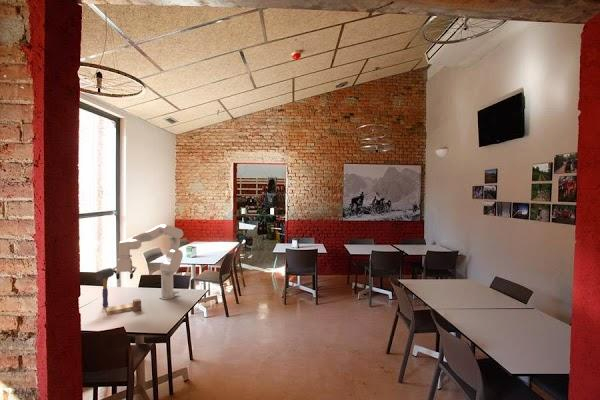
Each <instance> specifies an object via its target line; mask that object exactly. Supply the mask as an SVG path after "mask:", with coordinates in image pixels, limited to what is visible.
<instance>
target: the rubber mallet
mask: <svg viewBox="0 0 600 400" xmlns="http://www.w3.org/2000/svg"><path fill="white" fill-rule="evenodd" d="M112 269H113V268H111V267H109V268H104V269H100V270H99V271H96V272H95V276H94V277H95V279H96V280H98V281H101V280H102V282H103V283H102V288H103V289H102V293H101V294H102V306H103V308H107V307H109V306H108V305H109V301H108V297H109V290H108V281H107V279H109V278H111V277H113V276H114V275H115V273H114V271H113V270H112Z"/></svg>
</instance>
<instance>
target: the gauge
mask: <svg viewBox="0 0 600 400" xmlns="http://www.w3.org/2000/svg"><path fill="white" fill-rule="evenodd" d="M132 303H133V310H132V311H133V313H136V312H141V311H142V300H141V298H137V299H132Z"/></svg>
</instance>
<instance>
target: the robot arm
mask: <svg viewBox="0 0 600 400" xmlns="http://www.w3.org/2000/svg"><path fill="white" fill-rule="evenodd" d="M163 235H164V236H167V237H168V238H169V245H168V247H167V250H166V253H165V257H166V259H168V260H163V261H162V262H161V263H160V266H159V270H160V276H161V277H160V278H161V279H160V280H161V281H160V282H161V283H160V284H161V295H159V298H160V299H161V300H171V299H173V298H175V297H176V295H177V294H180V291H179V290H178V291H177V290H174V274H175V273H177V272H178V271H179V269H180V266H181V263H182V260H183V251H182V250H180V249H179V248H180V245H181V240H180V239H181V238H182V237H183V236H184V231H183V230H182V229H181V228H178V227H175V226H172V225H169V224H160V225H157V226H155V227H154V228H151V229H149V230H148V231H144V232H141V233H139V234H136V235H134V236H132V237H130V238H127V240H122V241H119V242H118V259H117V261H116V266H115V267H113V268H112V270H113V271H114V275H115V278H116V280H120V273H124V272H125V273H127V272H128V273H129V279H130V280H132V279H133V278H134V273H135V272H136V270H137V267H136V266H134V265H133V261H132V256H133V255H131V252H130V251H131V250H139V249H141V247H142V243H144V242H145V243H146V242H152V241H154V240H155V239H158V238H159V237H162V236H163Z"/></svg>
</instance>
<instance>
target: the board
mask: <svg viewBox="0 0 600 400" xmlns="http://www.w3.org/2000/svg"><path fill="white" fill-rule="evenodd" d="M130 311H133V302H129V303H123V304H118V305H112V306H107V307H105V312H106V315H107V316H108V315H113V314H120V313H124V312H130Z"/></svg>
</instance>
